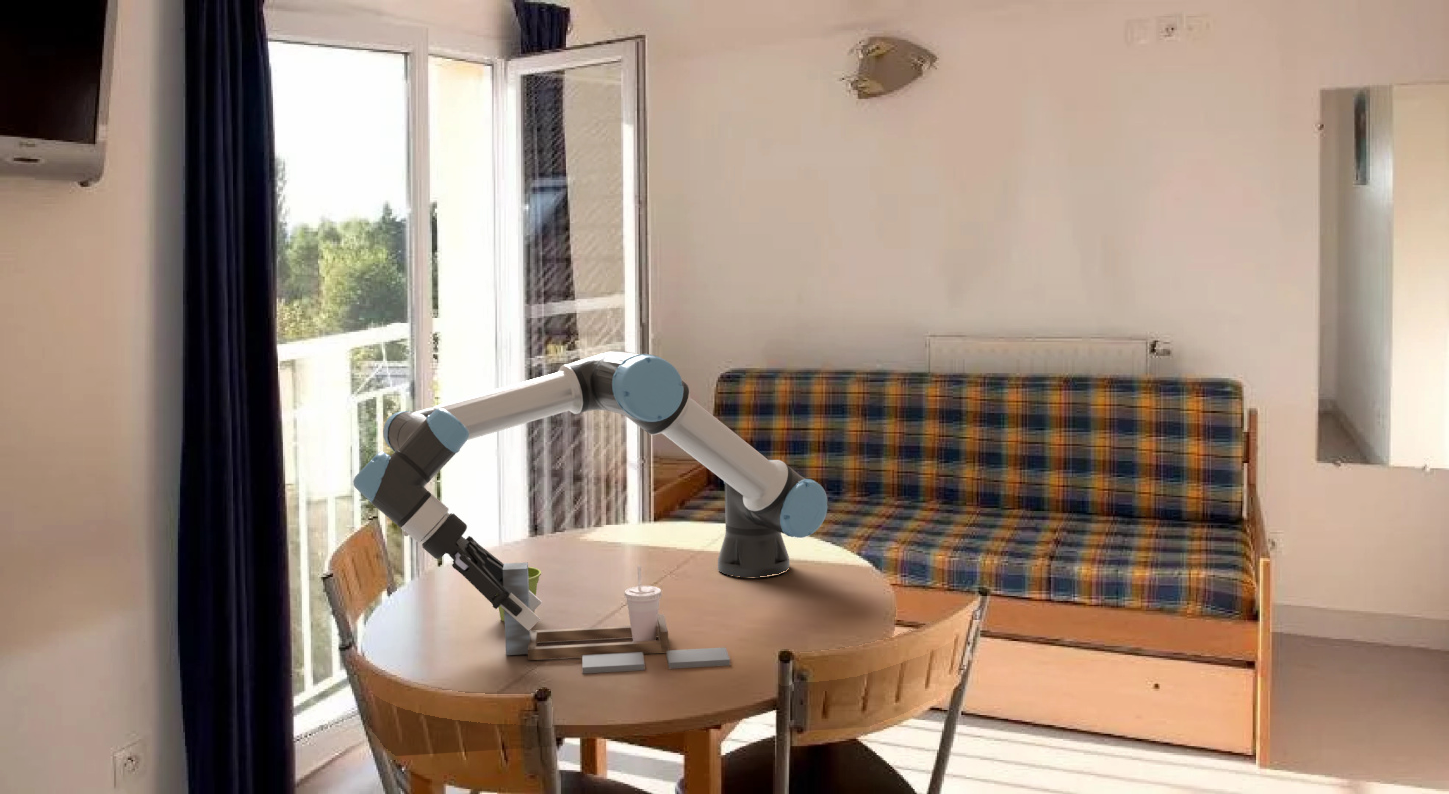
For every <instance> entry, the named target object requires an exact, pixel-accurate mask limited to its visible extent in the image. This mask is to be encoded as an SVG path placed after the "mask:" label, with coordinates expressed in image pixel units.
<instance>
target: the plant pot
mask: <svg viewBox="0 0 1449 794" xmlns="http://www.w3.org/2000/svg"><path fill="white" fill-rule="evenodd" d="M541 576H542V570H540V569H539V568H536V567H533V566H532V567H531V566H528V579H529V590H530V591H531V592H532V593H533V594H534V595H535V596H536V597H537V590H538V588H537V587H538V583H539V580H540V577H541ZM535 611H536V609H535V610H534V611H533V612H534V613H535ZM498 612H499V617H500V620H501V621H502V622H504V623H505V617H504V609H503V608H502V607H501V606H499V607H498Z"/></svg>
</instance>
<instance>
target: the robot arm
mask: <svg viewBox="0 0 1449 794" xmlns="http://www.w3.org/2000/svg"><path fill="white" fill-rule="evenodd" d="M590 411H607V412H612V413H616V414H620V415H623V416H625V417H626V418H628V419H629V420H630V421H632V422H633V423H634V424H636V425H637V426H638V427H639V428H640V429H642V430H644V431H645V432H646V433H647V434H648V435H651V436H656V435H660V434H662V435H663V436H665V437H666V438H667V439H669V441H672V442H673V443H674V444H675V445H676V446H677V447H679V448H680V449H681V450H683V451H684V452H686V454H688V455H689V456H691V457H692V458H693V459H695V460H696V461H697V462H698V463H700V464H701V465H703V466H704V467H705V468H706V469H708V470H709V471H710V472H711V473H713V474H714V475H716V476H717V477H718V478H719V479H721V480H722V481H723V484H724V509H725V517H724V518H725V534H724V535H725V536H724V538H723V541H722V545H721V547H720V551H719V555H718V558H717V570H719V571H720V572H722V573H724V574H728V575H733V576H740V577H760V576H767V575H772V574H779V573H781V572H783V571H786V570H787V569H788V568H789V566H790V565H791V564H790V556H789V554H788V550H787V548H786V544H785V541H784V538H783V535H782V534H784V535H786V536H787V537H791V538H793V537H794V538H797V539H798V538H803V539H804V538H806V537H809V536H811V535H813V534H814V533H815V532H817V531H818V529H819V528H821V526H822V524H823V522H824V521H825V519H826V516H827V512H828V497H827V495H828V494H827V493H826V491H825V489H824V487H823V486H822V485H821V484H820V483H819V482H817V481H815V480H814V479H812V478H805V477H803V476H802V475H800V474H799V473H798V472H796V471H795V470H794V469H793V468H791V467H790V466H789V465H788V464H787V463H785V462H784V461H782V460H780V459H768V458H766V457H765V456H764V455H763V454H762V453H760V452H759V451H758V450H756V449H755V448H754V447H753V446H752V445H751V444H749V443H748V442H746V441H745V440H744V439H743V438H741V437H740V436H739V435H738V434H737V433H736V432H734V431H733V430H732V429H730V428H729V427H728V426H727V425H725V423H723V422H722V421H721V420H719V419H718V418H717V417H716V416H714V415H713V414H712V413H710V412H709V411H708V410H707V409H705V408H704V407H703V406H701V404H699V403H698V402H696V400H695V399H693V398H691V389H690V387H689V385H688V384H687V383H686V382H685V381H684V380H682V375H680V373H679V371H678V370H677V368H676V367H675V366H674V365H673V364H672V363H670V362H669V361H667V359H664V358H662V357H660V356H657V355H654V354H649V353H635V352H630V351H625V350H609V351H606V352H602V353H599V354H595V355H592V356H589V357H585V358H583V359H579V360H576V361H573V362H570V363H566V364H563V365H560V367H559V369H558V370H557V372H554V373H550V374H546V375H543V376H540V377H536V378H535V377H534V378H532V379H529V380H524V381H521V382H518V383H514V384H510V385H507V386H504V387H500V388H495V389H492V390H489V391H488V390H487V391H485V392H481V393H479V394H478V393H477V394H475V395H471V396H467V397H463V398H460V399H457V400H453V401H448V402H446V403H441V404H438V405H434V406H431V407H427V408H423V409H419V410H416V411H410V410H404V411H397V412H395V413H393V414H391V415H390V416H389V417H388V418H387V420H386V421H385V423H384V425H383V431H382V433H383V435H382V436H383V439H384V441H385V442H384V443H386V445H387V446H388V447H389V448H391V450H392V451H393V453H392V454H391V455H390V454H388V453H386V452H384V451H378V452H377V453H376V455H374V456H373V457H372V459H370V461H368V463H366V465H365V466H364V467H362V469H361V470H360V471H359V472H358V473H357V474H356V475H355V476H354V478H353V487H354V488H355V490H357V491H358V492H359V493H360V494H361V495H362V496H363V497H364V498H365V499H366V500H368V501H369V503H370V504H372V505H373V506H374V507H375V508H376V509H377V510H379V511H380V512H381V513H382V514H383V515H384V516H385V517H387V518H388V519H389V520H390V521H392V522H393V523H394V524H395V525H397V526H398V528H401V530H402V531H403V536H404V537H409V536H410V538H411V539H413V540H414V541H415V542H416V543H420V542H422V544H421V546H422V548H423V550H425V551H426V552H427V553H428V554H429V555H430V556H431V557H432V558H434V559H435V560H439V559H441V558H442V557H444V555H445V554H447V555H448V556H449V557H450V558H451V559H452V564H451V566H452V569H454V570H456V571H457V572H458V573H460V574H461V575H462V576H463V577H464V578H465V579H466V580H467V581H468V582H469V583H470V584H471V585H472V586H473V587H474V588H475V589H476V590H477V591H478V592H479V593H480V595H482V596H484V598H485V599H486V600H487V601H489V602H490V603H491V605H492V607H493V608H494V609H495V610H497V609H499V606H501V607H502V608H503V609H504V610H505V611H506V612H508V613H509V614H510V615H511V616H512V617H513V618H514V619H516V620H517V621H518V622H519V623H520V624H521V625H522V626H524V627H525V628H526V629H527V630H528V631H529V630H530V631H531V630H532V628H534V626H535V625H536V624H537V623H539V621H540V620H541V617H540V616H538V615H537V614H536V613H535V611H536V609H537V608H538V607H539V606H540V605H541V604H542V603H543V601H542V600H541V599H540V598H539V597H538V596H537V595H536V596H535V595H534V594H533V593H532V592H531V591H530V590H529V607H530V609H529V608H528V607H527V606H526V605H525V604H524V603H523V602H521V601H520V600H519V599H518V598H517V597H516V596H515V595H513V594H512V593H510V594H509V592H508V591H506V590H505V588H504V587H503V566H504V562H502V561H501V560H499V559H498V558H497V557H495V555H493V554H492V553H491V552H490V551H488V550H487V549H485V548H484V547H483V546H482V545H480V544H479V543H478V542H477V541H476V540H475V539H474V538H473V537H472V536H470V535H468V536H467V538H465V537H463V535H464V534H465V532H466V531H467V529H468V525H467V524H466V523H465V522H464V521H463V520H462V519H461V518H459V517H458V515H456V514H455V513H453V512H452V513H449V507H447V505H445V504H444V503H443V502H442V501H440V500H439V499H438V498H437V497H436V496H435V495H434V494H433V493H431V492H430V491H428V489H426V485H427V484H429V483H430V482H431V480H432V479H433V478H435V476H436V475H437V474H438V473H439V471H440V470H442V469H443V468H444V467H445V465H447V463H448V462H450V460H451V459H453V457H454V456H456V454H458V453H459V452H460V450H461V449H462V447H463V446H464V445H465V444H466V442H467V441H469V440H473V439H476V438H479V437H483V436H487V435H490V434H494V433H496V432H500V431H503V430H507V429H511V428H514V427H517V426H520V425H524V424H528V423H532V422H534V421H537V420H542V419H546V418H548V417H552V416H555V415H559V414H562V413H566V412H570V413H572V414H573V415H577V414H578V415H579V414H581V413H585V412H590ZM719 571H718V572H719ZM720 572H719V573H720ZM722 573H721V574H722ZM724 574H723V575H724ZM728 575H727V576H728ZM534 610H535V611H534ZM533 611H534V612H533Z"/></svg>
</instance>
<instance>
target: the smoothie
mask: <svg viewBox="0 0 1449 794" xmlns="http://www.w3.org/2000/svg"><path fill="white" fill-rule="evenodd" d="M662 596H663V593H662V589H661V588H660V587H657V586H652V585H642V566H641V565H637V586H633V587H632V586H631V587H629V588H626V590H624V598H625V600H626V604H627V610H628V615H629V616H628V618H629V626H630V625H631V631H632V642H636V641H656V639H657V636H656V630H657V621H658V614H659V609H660V599H661V598H662Z"/></svg>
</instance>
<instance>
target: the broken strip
mask: <svg viewBox="0 0 1449 794" xmlns="http://www.w3.org/2000/svg"><path fill="white" fill-rule="evenodd" d="M665 654H666V660H667V664H668V665H667V666H668V669H671V670H672V669H687V668H691V669H692V668H705V667H707V668H709V667H723V666H731V658H730V656H729V653H728V650H727V648H726V647H714V648H713V647H710V648H709V647H708V648H706V647H705V648H689V649H688V648H687V649H671V650H669V649H668V650H667V651H666V653H665ZM581 658H582V662H581V663H582V674H596V673H617V672H618V673H619V672H633V671H645V669H646V668H645V659H644V654H643V652H630V653H611V654H593V655H582V657H581Z"/></svg>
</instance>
